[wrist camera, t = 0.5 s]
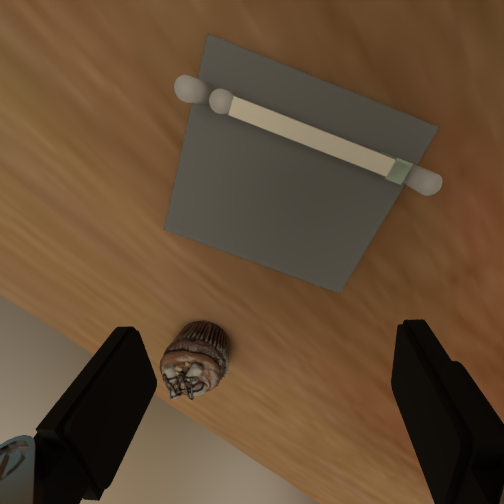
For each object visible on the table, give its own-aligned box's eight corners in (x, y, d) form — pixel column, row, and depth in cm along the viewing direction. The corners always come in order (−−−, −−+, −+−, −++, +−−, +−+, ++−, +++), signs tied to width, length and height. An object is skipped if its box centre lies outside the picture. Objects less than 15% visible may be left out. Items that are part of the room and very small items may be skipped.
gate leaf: (224, 89, 30) (212, 84, 25) (394, 156, 31) (413, 164, 26) (218, 109, 30) (206, 109, 26) (384, 174, 31) (400, 184, 27)
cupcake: (188, 364, 50) (167, 420, 41) (166, 320, 46) (137, 371, 37) (241, 357, 48) (230, 414, 39) (222, 311, 44) (206, 362, 35)
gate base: (210, 36, 29) (184, 10, 22) (435, 126, 30) (481, 131, 23) (166, 226, 39) (139, 252, 32) (338, 289, 40) (349, 328, 33)
